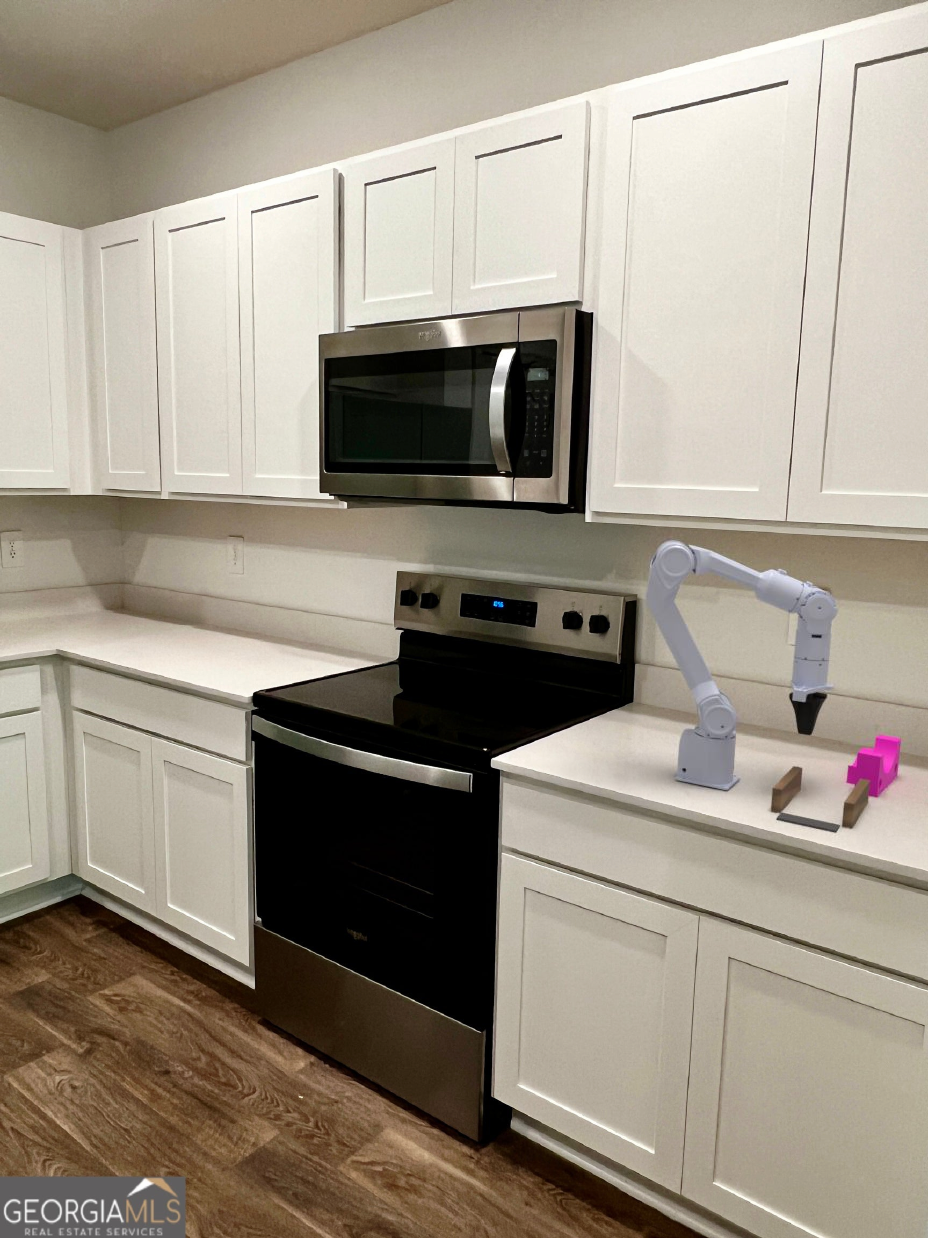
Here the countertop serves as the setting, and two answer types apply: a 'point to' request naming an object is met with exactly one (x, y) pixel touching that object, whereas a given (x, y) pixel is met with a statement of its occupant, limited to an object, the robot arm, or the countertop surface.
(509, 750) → the countertop surface
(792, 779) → the channel
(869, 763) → the toy block
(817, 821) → the pit pad
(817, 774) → the countertop surface
